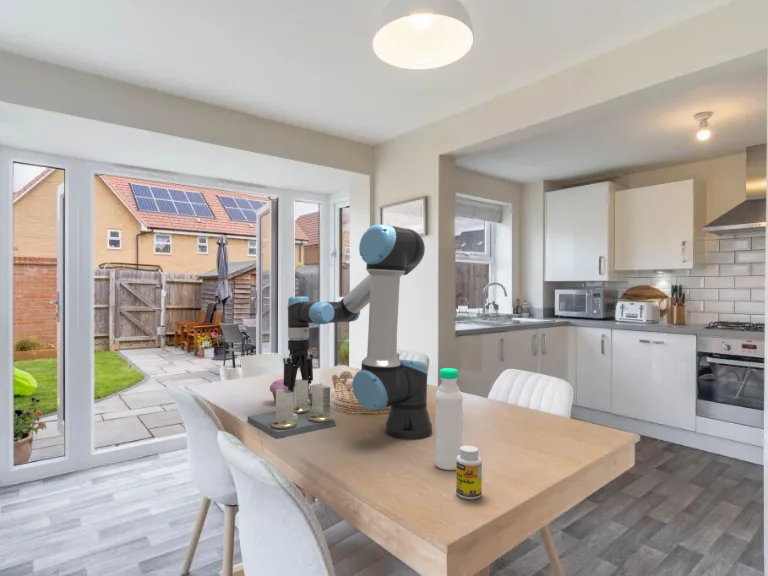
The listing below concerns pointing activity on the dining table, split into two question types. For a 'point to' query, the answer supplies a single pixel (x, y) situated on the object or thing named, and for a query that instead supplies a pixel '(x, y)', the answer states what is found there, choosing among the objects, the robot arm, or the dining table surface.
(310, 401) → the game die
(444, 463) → the water bottle
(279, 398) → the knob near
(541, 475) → the dining table surface
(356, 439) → the dining table surface
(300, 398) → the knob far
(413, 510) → the dining table surface
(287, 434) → the board
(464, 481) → the supplement bottle
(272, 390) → the cupcake
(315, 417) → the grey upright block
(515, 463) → the dining table surface
